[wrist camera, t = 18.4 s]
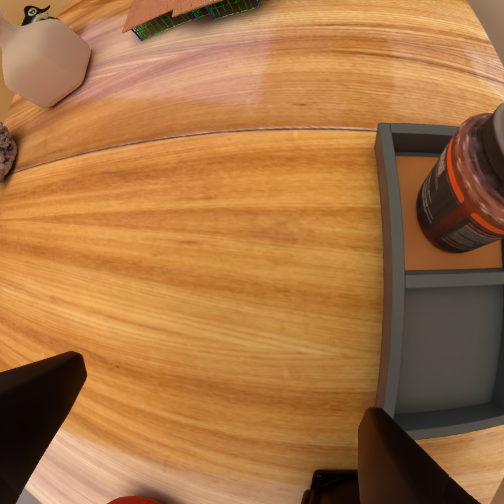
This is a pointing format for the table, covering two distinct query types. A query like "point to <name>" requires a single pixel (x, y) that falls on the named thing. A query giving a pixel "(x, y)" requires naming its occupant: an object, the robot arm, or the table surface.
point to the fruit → (134, 500)
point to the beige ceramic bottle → (42, 60)
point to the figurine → (32, 11)
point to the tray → (434, 304)
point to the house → (158, 3)
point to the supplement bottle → (466, 187)
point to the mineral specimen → (6, 151)
